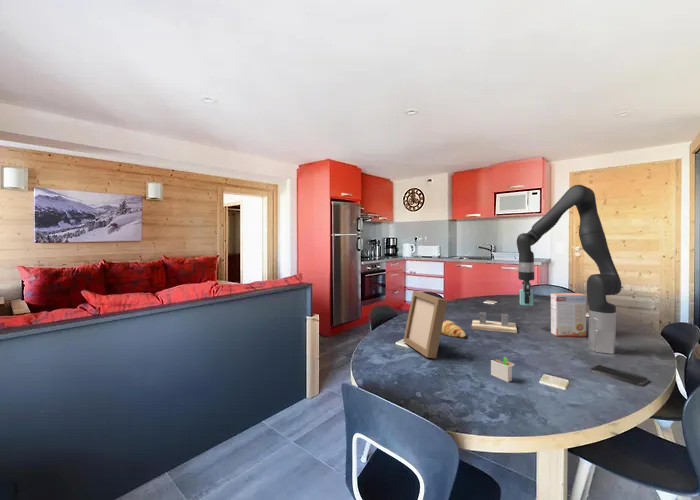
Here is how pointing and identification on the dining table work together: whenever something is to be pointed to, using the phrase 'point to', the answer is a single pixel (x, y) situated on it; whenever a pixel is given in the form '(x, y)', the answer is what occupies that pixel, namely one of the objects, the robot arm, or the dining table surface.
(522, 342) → the dining table surface
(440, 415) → the dining table surface
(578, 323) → the cracker box
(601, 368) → the dark grey flat bar
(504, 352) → the dining table surface
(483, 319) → the left steel post
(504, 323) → the right steel post
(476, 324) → the birch board
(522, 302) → the light blue cube
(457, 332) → the croissant
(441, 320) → the photo frame
